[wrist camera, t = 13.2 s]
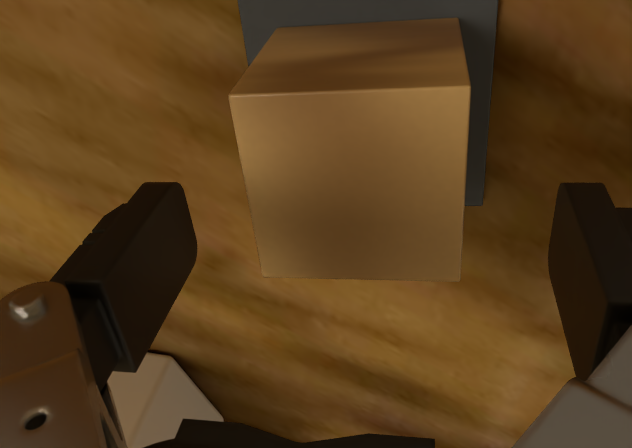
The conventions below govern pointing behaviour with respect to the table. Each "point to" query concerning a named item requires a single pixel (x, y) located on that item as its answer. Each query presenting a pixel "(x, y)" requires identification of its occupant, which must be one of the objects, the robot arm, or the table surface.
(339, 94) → the beech block
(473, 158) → the mat
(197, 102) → the table surface
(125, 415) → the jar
